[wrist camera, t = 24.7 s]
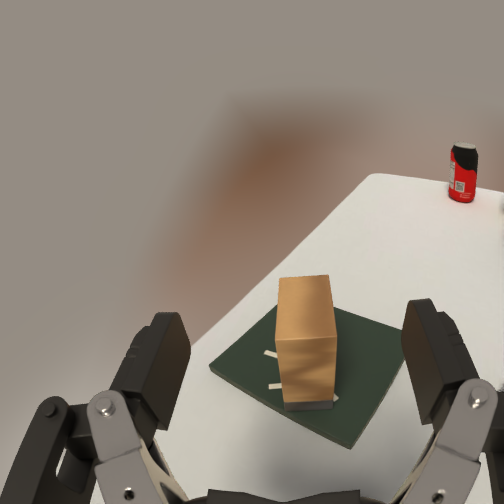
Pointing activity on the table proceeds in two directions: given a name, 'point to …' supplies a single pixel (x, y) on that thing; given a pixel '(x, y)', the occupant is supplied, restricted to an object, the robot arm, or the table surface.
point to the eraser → (306, 342)
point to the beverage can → (463, 172)
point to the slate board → (346, 374)
